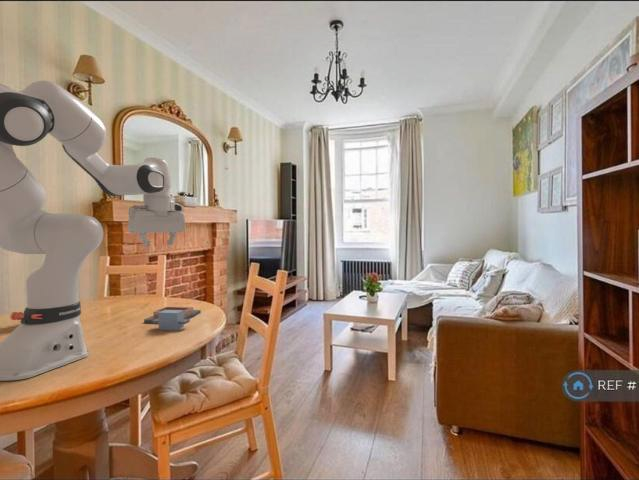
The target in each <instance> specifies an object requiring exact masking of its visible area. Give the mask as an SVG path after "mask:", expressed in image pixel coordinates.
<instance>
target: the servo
mask: <svg viewBox="0 0 639 480" xmlns="http://www.w3.org/2000/svg"><path fill="white" fill-rule="evenodd" d="M158 318H159V319H156V320H153V323H152V324H158V330H165V331H166V330H167V331H179V330H181V329H182V328H184V327H185V325H186V324H188V323H190V321H191V319H184V310H163V311H161V312H158Z"/></svg>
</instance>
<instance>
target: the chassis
mask: <svg viewBox="0 0 639 480" xmlns="http://www.w3.org/2000/svg"><path fill="white" fill-rule="evenodd" d="M163 310H184V319H189V320H191V319H192V318H194V317H196V316H198V315H199V314H201V309H194V307H192V306H191V307H189V306H165V307H163V308H159V309H156V310H153V312H152V313H153V315H152V316H149V317H147V318H144V319H143V323H145V324H154V323H153V320H156V319H159V318H158V312H161V311H163Z"/></svg>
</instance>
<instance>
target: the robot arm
mask: <svg viewBox="0 0 639 480" xmlns="http://www.w3.org/2000/svg"><path fill="white" fill-rule="evenodd" d="M47 135H50V136H52V137H53V139H55V140H56V141H58V142H59V143H60V144H61V147H62V150H64V152H65V154H67V156H68V157H69V158H70V159H71V160H72V161H74V163H76V164H77V166H79V167H80V168H81V169H82V170H83V171H84V172H85V173H86V174H87V175H89V176H90V177H91V178H92V179H93V180H94V181H95V182H96V184H97V185H98V187H99V188H100V189H101V191H102V192H103V193H104V194H106V195H107V196H110V197H122V196H139V195H143V196H142V200H143V201H142V202H143V203H142V204H141V205H137V204H134V205H132V206H130V207H129V208H128V221H127V222H128V223H127V231H128V232H129V233H130V234H138V236H139V238H140V240H141V241H142V247H143V248H144V247H150V246H151V241H149V240H148V239H147V236H148V234H153V233H154V234H155V233H157V234H159V233H168V234H169V239H168V240H166V245H167V246H173V245H175V243H174V241H175V238H176V237H177V233H184V231H185V230H186V218H185V214H184V213H183V212H184V210H185V207H184V206H183V205H181V204H178V203H177V202H174V201H172V195H171V187H172V183H171V179H172V178H171V172H170V168H169V164H168V162H167V161H165V160H164V159H161V158H159V157H158V158H156V157H147V158H145V159H144V160H143V162H140V163H137V164H136V163H135V164H124V165H123V164H121V165H120V164H119V165H117V164H111V163H108V162H106V161H105V159H103V158H102V157H101V156H100V155H99V154H98V152H99V151H100V150H101V149H102V148H103V146H104V145H105V142H106V140H107V129H106V126H105V124H104V123H103V121H102V119H100V118H99V117H98V116H97V115H96V113H94V112H93V111H92V110H91V109H90V108H89V107H88V106H86V104H84V102H82V101H81V100H79V99H78V98H77V97H76V96H74V95H73V94H72V93H71V92H69V91H68V90H66V89H65V88H63V87H62V86H60V85H59V84H57V83H55V82H52V81H49V80H37V81H33V82H32V83H30V84H28V85H27V86H26V87H25V88H24V89H23V90H19V91H17V90H16V89H12V88H10V87H9V86H7V85H4V84H1V83H0V248H2V249H4V250H5V251H7V252H14V253H18V254H23V255H45V257H44V260H43V263H42V265H41V266H40V267H39V269H37V270H34V271H33V272H32V273H31V274H29V275H28V277H27V278H26V281H25V282H26V284H25V285H26V287H25V288H26V307H25V308H24V311H23V312H22V311H19V312H17V311H13V312H12V313H11V314H9V319H10V320H11V321H20V324H19V325H18V326H17V327H16V328H14V330H13V331H11V332H10V333H9V334H8V335H7V336H6V337H5V338H4V339H3V340H2V341H1V342H0V382H1V381H5V382H6V381H7V382H8V381H19V380H27V379H29V378H30V379H31V378H33V377H36V376H38V375H42V374H44V373H46V372H49V371H52V370H55V369H57V368H59V367H63V366H66V365H68V364H70V363H73V362H76V361H78V360H81V359H85V358H87V357H88V356H89V353H88V347H87V346H86V343H85V339H84V333H83V327H82V322H81V318H80V315H81V314H82V306H81V301H79V284H80V283H79V281H80V273H81V269H82V267H83V264H84V262H85V261H86V259H87V258H88V257H89V256H90V254H91V253H93V252H94V251H96V249H98V248H99V247H100V245H102V243H103V239H104V229H103V226H102V224H101V222H100V221H99V220H98V219H97V218H96V217H94V216H91V215H86V214H81V213H74V212H73V213H71V212H70V213H67V212H66V213H63V212H62V213H60V212H59V213H52V212H51V213H50V212H47V211H44V210H43V209H42V208H43V207H44V205H45V203H46V199H47V193H46V190H45V188H44V186H43V185H41V183H40V182H39V181H38V180H37V178H36V177H35V176H34V175H33V173H31V172H30V171H31V170H29V169H28V167H26V165H25V164H24V163H23V162H22V161H21V160H20V158H18V156H17V155H16V153H15V150H14V147H13V146H16V147H28V146H32V145H35V144H37V143H38V142H40V141H42V140H43V139H45V137H46V136H47Z"/></svg>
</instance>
